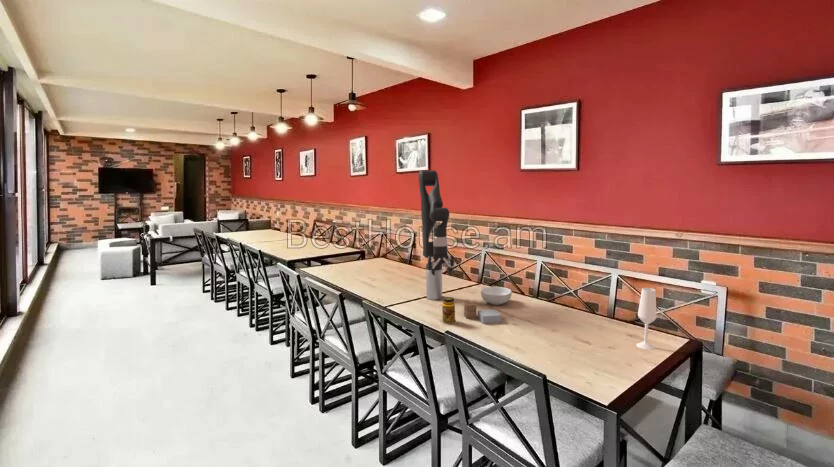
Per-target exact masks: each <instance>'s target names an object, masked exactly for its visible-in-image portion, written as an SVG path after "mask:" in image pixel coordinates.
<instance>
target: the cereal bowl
mask: <svg viewBox="0 0 834 467" xmlns="http://www.w3.org/2000/svg"><path fill="white" fill-rule="evenodd" d="M480 296H481V298H482V300H483V301H484V302H486V303H489V304H490V305H493V304H494V305H495V306H499V305H500V304H501V305H503V304H505V303H507V302H509V301H511V297H512V290H511V289H510V288H508V287H505V286H504V287H503V286H486V287H482V289H481V290H480ZM501 305H500V306H501Z"/></svg>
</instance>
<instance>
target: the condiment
mask: <svg viewBox="0 0 834 467" xmlns="http://www.w3.org/2000/svg"><path fill="white" fill-rule="evenodd" d="M442 300H443V301H442V304H441V306H442V307H441V308H442V312H441V314H442V316H441V317H442V318H439V319H438V321H440V323H442V324H443V325H444V326H446V325H455V324H459V322H458V321H456V307H455V306H456V304H455V299H454V297H453V296H452V297H450V296H445V297H442Z"/></svg>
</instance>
